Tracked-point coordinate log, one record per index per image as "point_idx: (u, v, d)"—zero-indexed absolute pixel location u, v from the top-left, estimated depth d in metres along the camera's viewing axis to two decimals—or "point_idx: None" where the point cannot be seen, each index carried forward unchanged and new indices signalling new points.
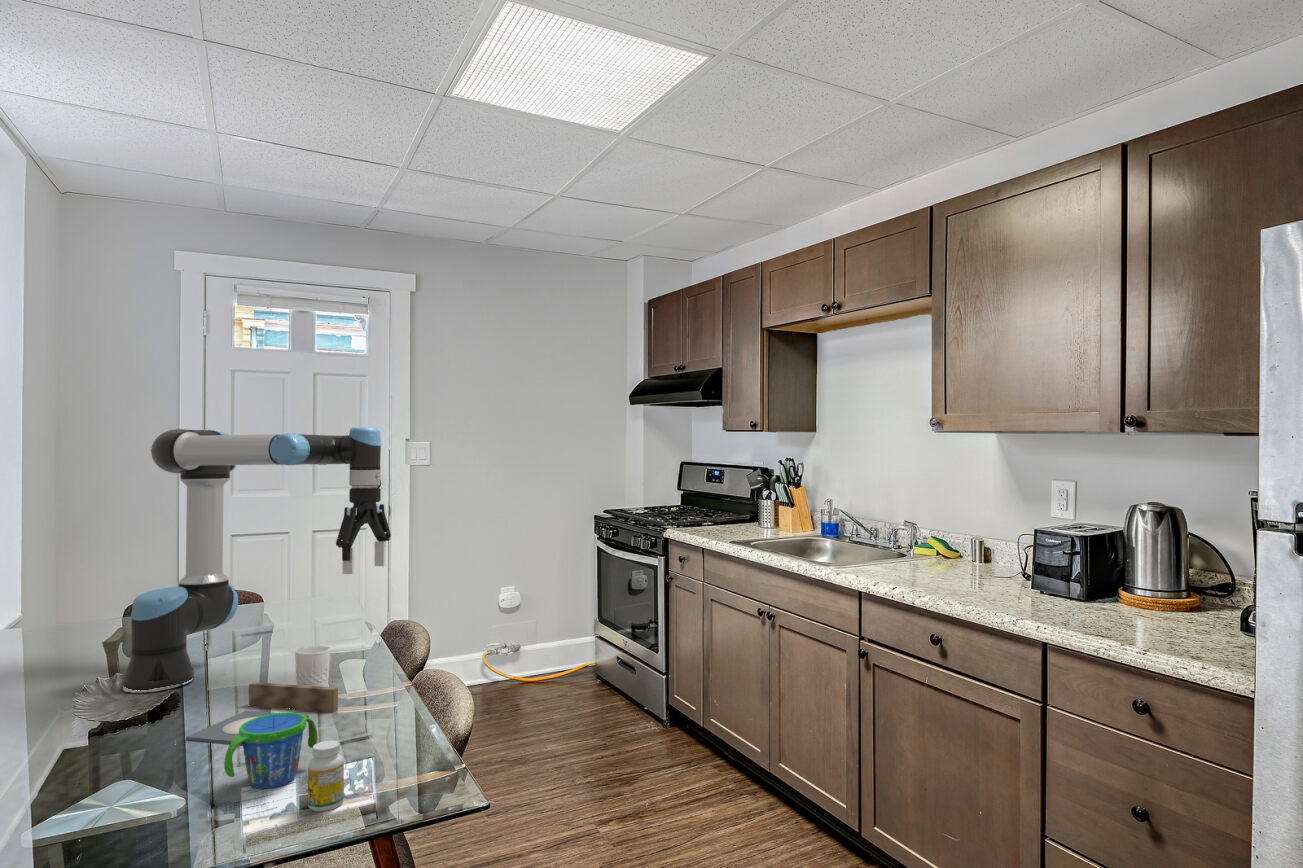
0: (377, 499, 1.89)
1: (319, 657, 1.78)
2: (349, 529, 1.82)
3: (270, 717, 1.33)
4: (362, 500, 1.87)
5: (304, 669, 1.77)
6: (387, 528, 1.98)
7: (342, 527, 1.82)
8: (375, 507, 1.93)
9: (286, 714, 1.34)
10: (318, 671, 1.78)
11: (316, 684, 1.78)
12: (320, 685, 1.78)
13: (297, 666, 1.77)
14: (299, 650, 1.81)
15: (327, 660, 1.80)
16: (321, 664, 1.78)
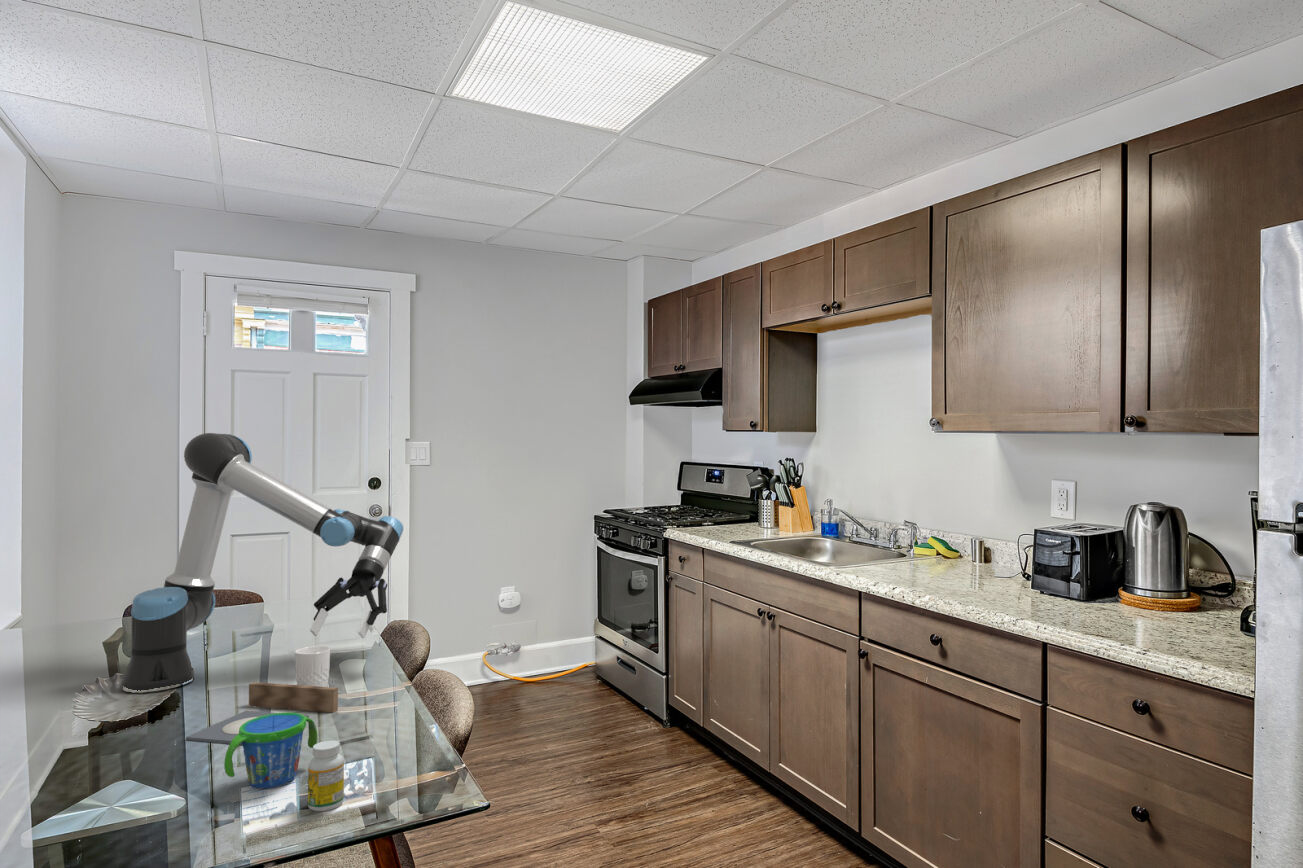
0: None
1: (319, 657, 1.78)
2: None
3: (270, 717, 1.33)
4: (379, 579, 2.01)
5: (304, 669, 1.77)
6: None
7: (383, 595, 1.94)
8: None
9: (286, 714, 1.34)
10: (318, 671, 1.78)
11: (316, 684, 1.78)
12: (320, 685, 1.78)
13: (297, 666, 1.77)
14: (299, 650, 1.81)
15: (327, 660, 1.80)
16: (321, 664, 1.78)
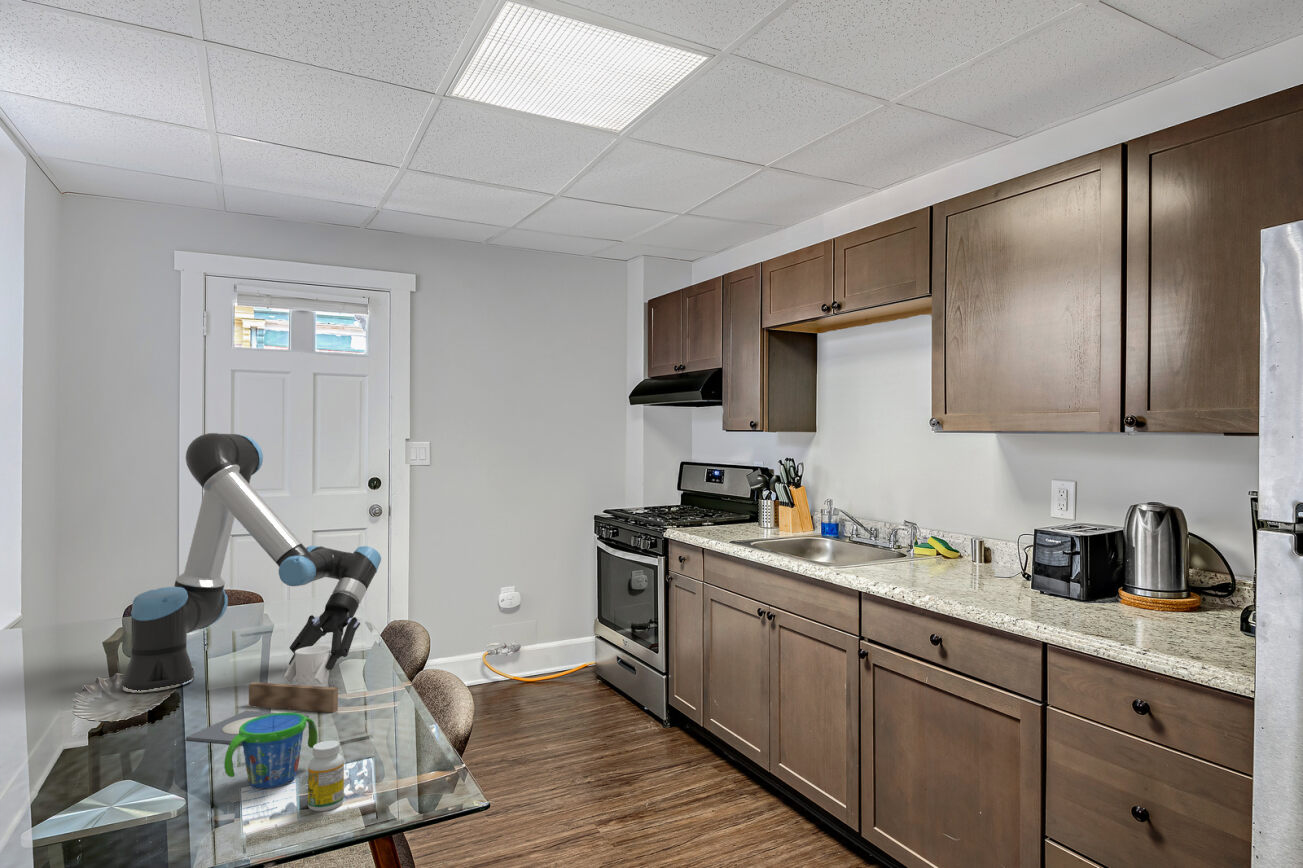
0: None
1: (319, 657, 1.78)
2: None
3: (270, 717, 1.33)
4: (354, 614, 1.91)
5: (304, 669, 1.77)
6: None
7: (349, 636, 1.83)
8: None
9: (286, 714, 1.34)
10: None
11: (316, 684, 1.77)
12: (320, 685, 1.78)
13: (297, 666, 1.77)
14: (299, 650, 1.81)
15: None
16: None
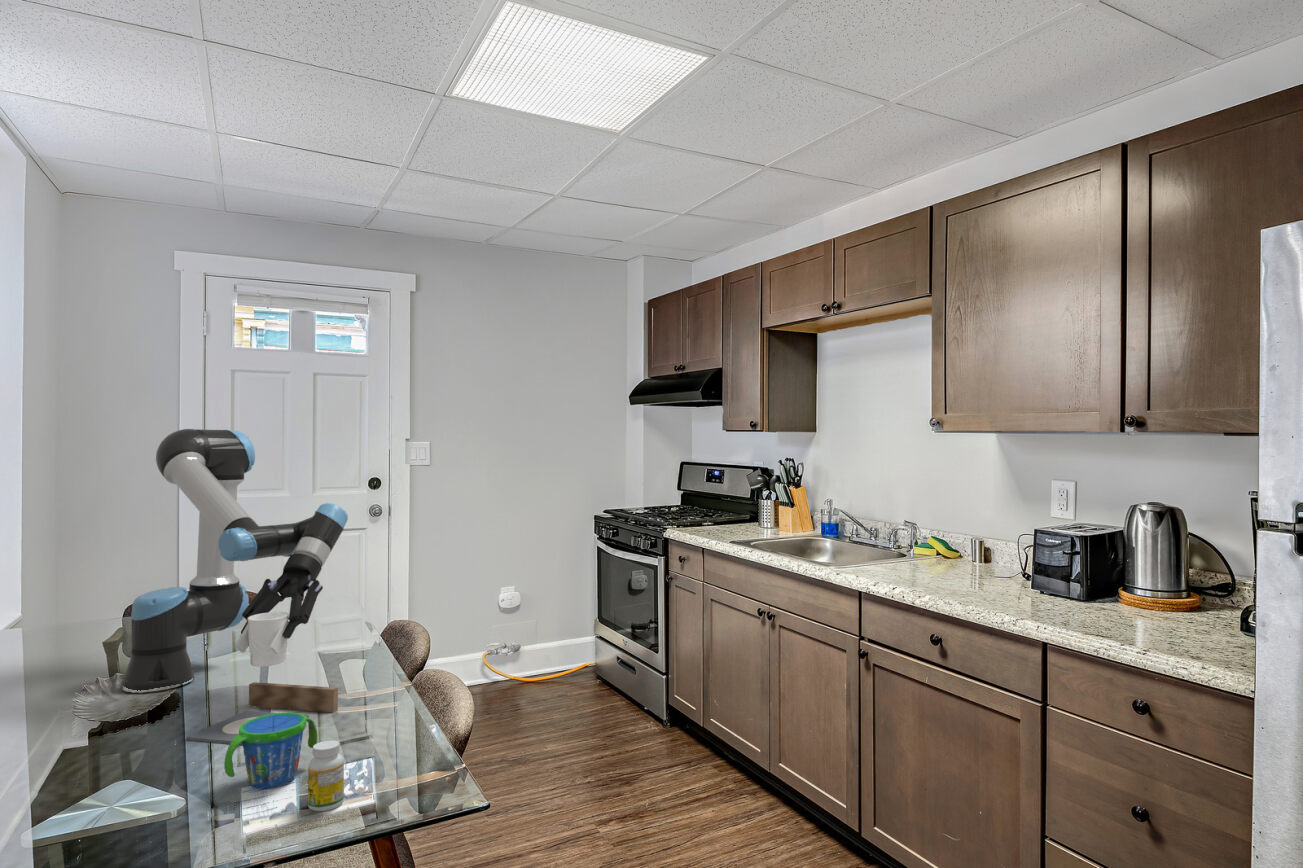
0: None
1: (275, 624, 1.57)
2: None
3: (270, 717, 1.33)
4: (316, 577, 1.70)
5: (258, 637, 1.56)
6: None
7: (309, 601, 1.62)
8: None
9: (286, 714, 1.34)
10: None
11: (272, 654, 1.57)
12: (277, 655, 1.57)
13: (250, 634, 1.56)
14: (253, 616, 1.60)
15: None
16: None
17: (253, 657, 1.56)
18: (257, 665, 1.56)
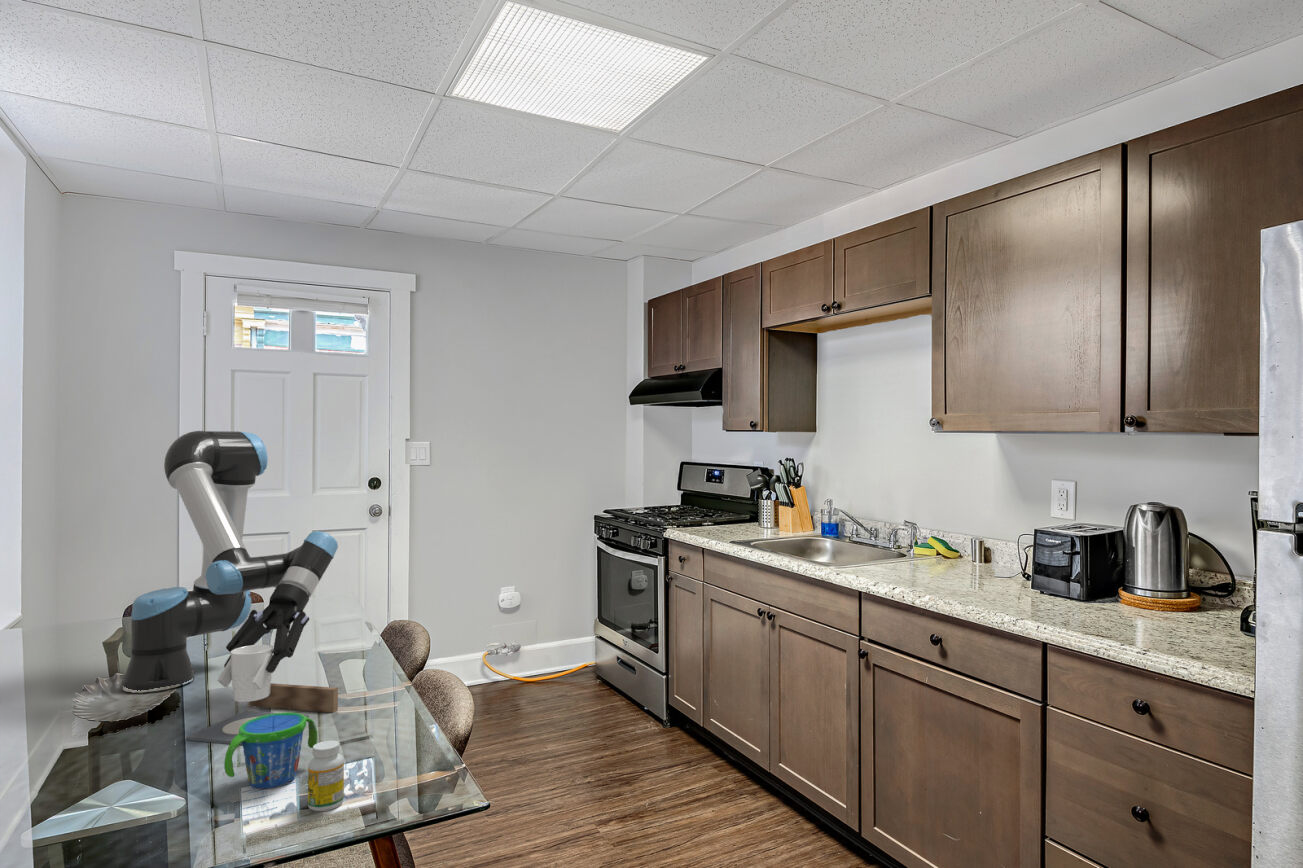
0: None
1: (259, 658, 1.53)
2: None
3: (270, 717, 1.33)
4: (303, 608, 1.66)
5: (240, 672, 1.51)
6: None
7: (295, 634, 1.58)
8: None
9: (286, 714, 1.34)
10: None
11: (255, 689, 1.52)
12: (260, 690, 1.53)
13: (232, 668, 1.52)
14: (236, 649, 1.56)
15: None
16: None
17: (235, 692, 1.52)
18: (239, 700, 1.52)
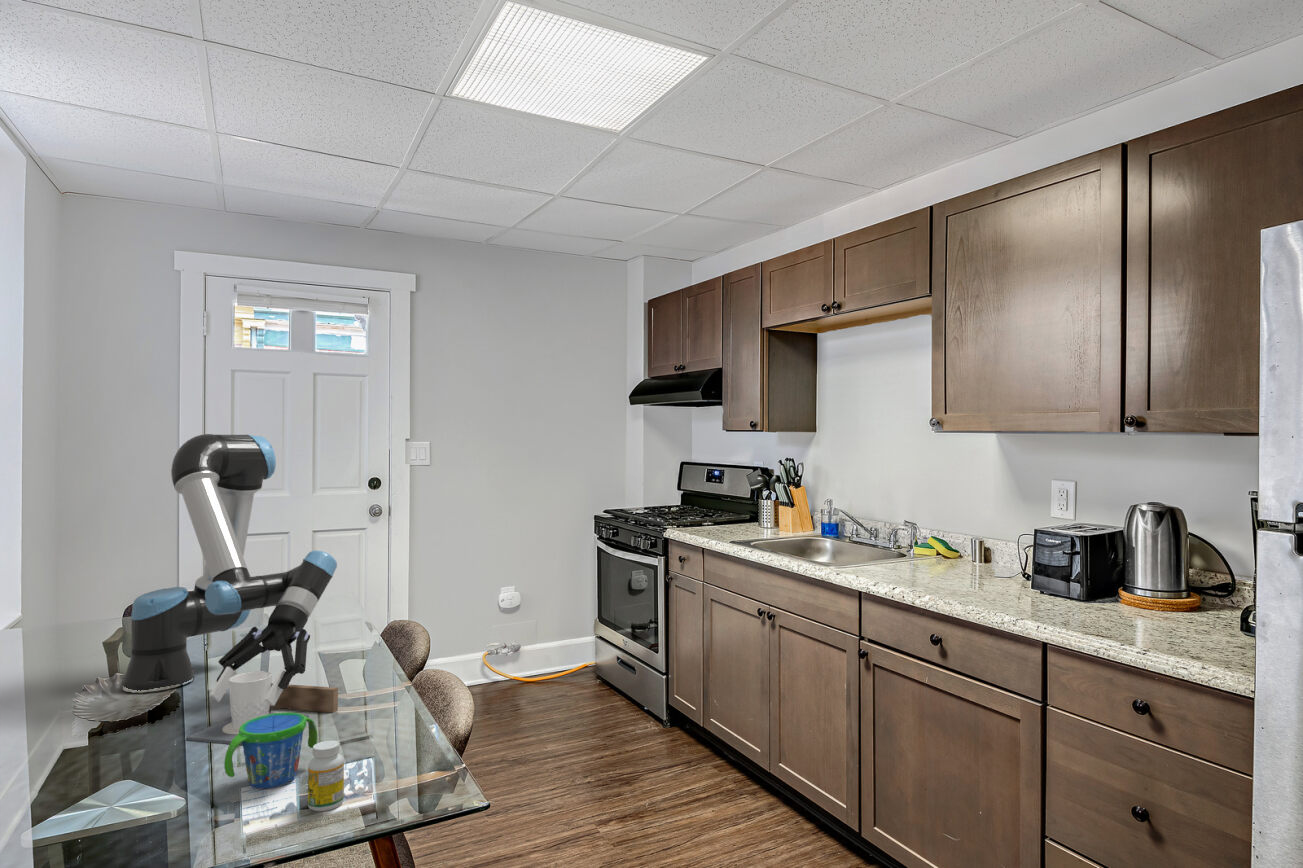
0: None
1: (257, 686, 1.53)
2: None
3: (270, 717, 1.33)
4: (302, 628, 1.66)
5: (239, 700, 1.51)
6: None
7: (302, 650, 1.59)
8: None
9: (286, 714, 1.34)
10: (256, 702, 1.52)
11: (253, 717, 1.52)
12: None
13: (231, 696, 1.52)
14: (235, 677, 1.56)
15: (267, 689, 1.55)
16: (260, 694, 1.53)
17: (234, 720, 1.52)
18: (238, 728, 1.52)
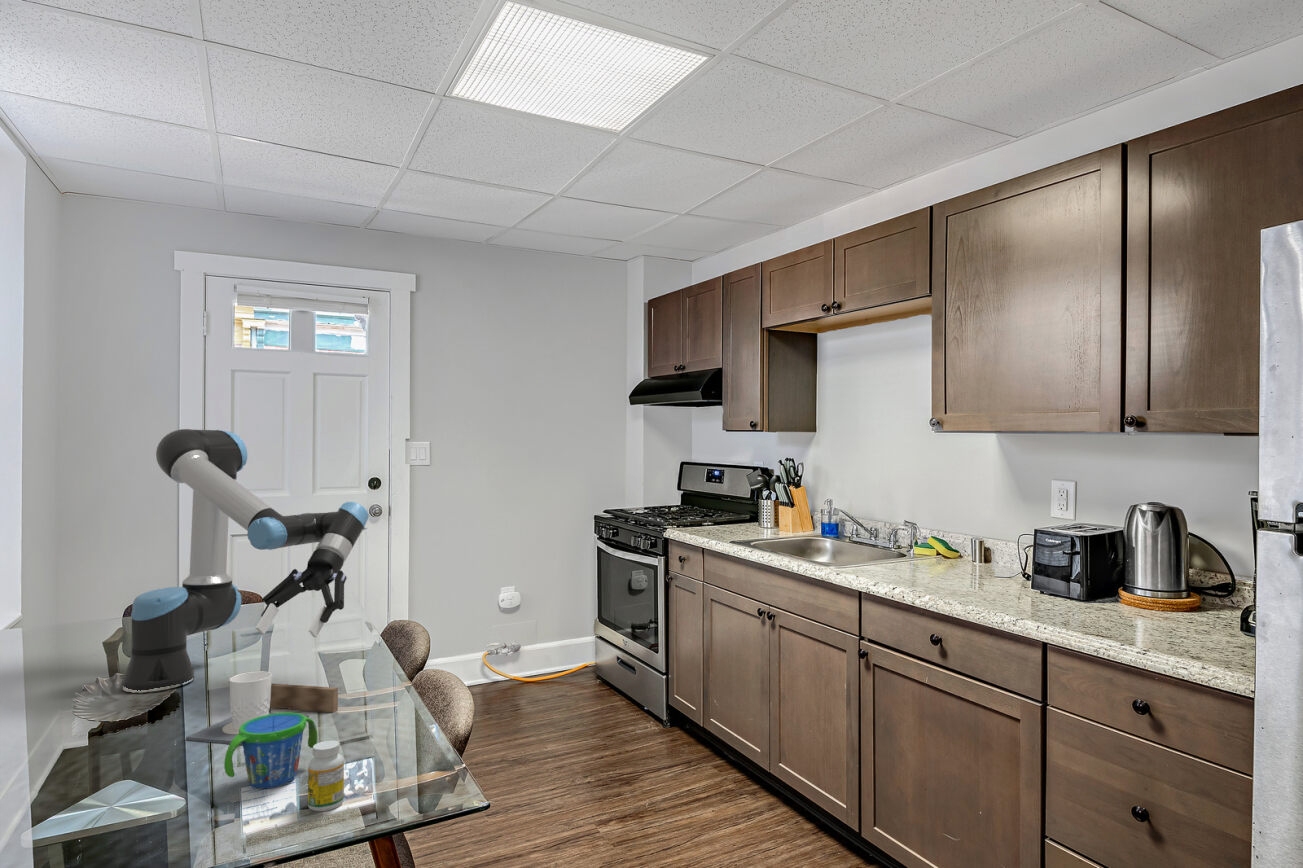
0: None
1: (257, 686, 1.53)
2: None
3: (270, 717, 1.33)
4: None
5: (239, 700, 1.51)
6: None
7: (340, 589, 1.72)
8: None
9: (286, 714, 1.34)
10: (256, 702, 1.52)
11: (253, 717, 1.52)
12: None
13: (231, 696, 1.52)
14: (235, 677, 1.56)
15: (267, 689, 1.55)
16: (260, 694, 1.53)
17: (234, 720, 1.52)
18: (238, 728, 1.52)
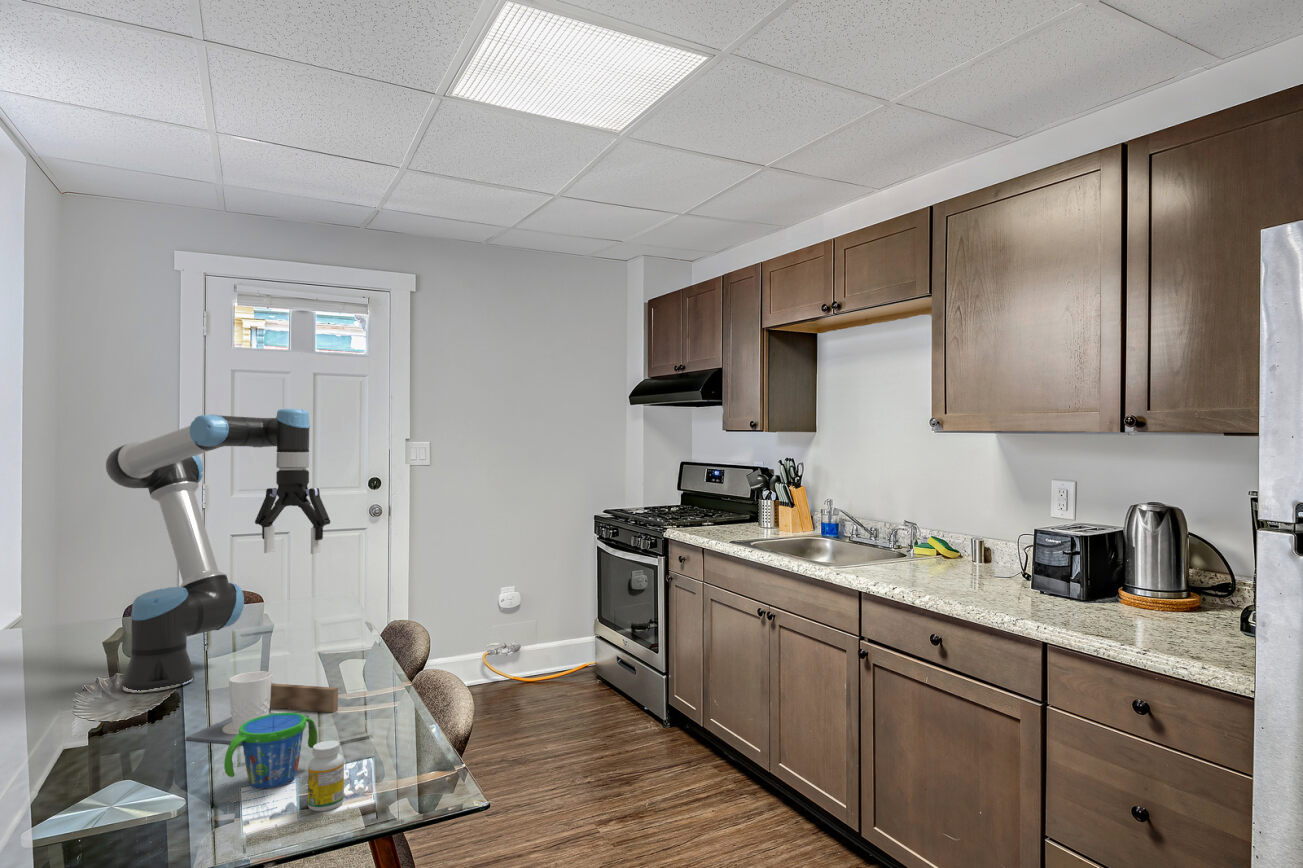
0: None
1: (257, 686, 1.53)
2: None
3: (270, 717, 1.33)
4: (308, 481, 1.90)
5: (239, 700, 1.51)
6: None
7: (319, 507, 1.86)
8: None
9: (286, 714, 1.34)
10: (256, 702, 1.52)
11: (253, 717, 1.52)
12: None
13: (231, 696, 1.52)
14: (235, 677, 1.56)
15: (267, 689, 1.55)
16: (260, 694, 1.53)
17: (234, 720, 1.52)
18: (238, 728, 1.52)
